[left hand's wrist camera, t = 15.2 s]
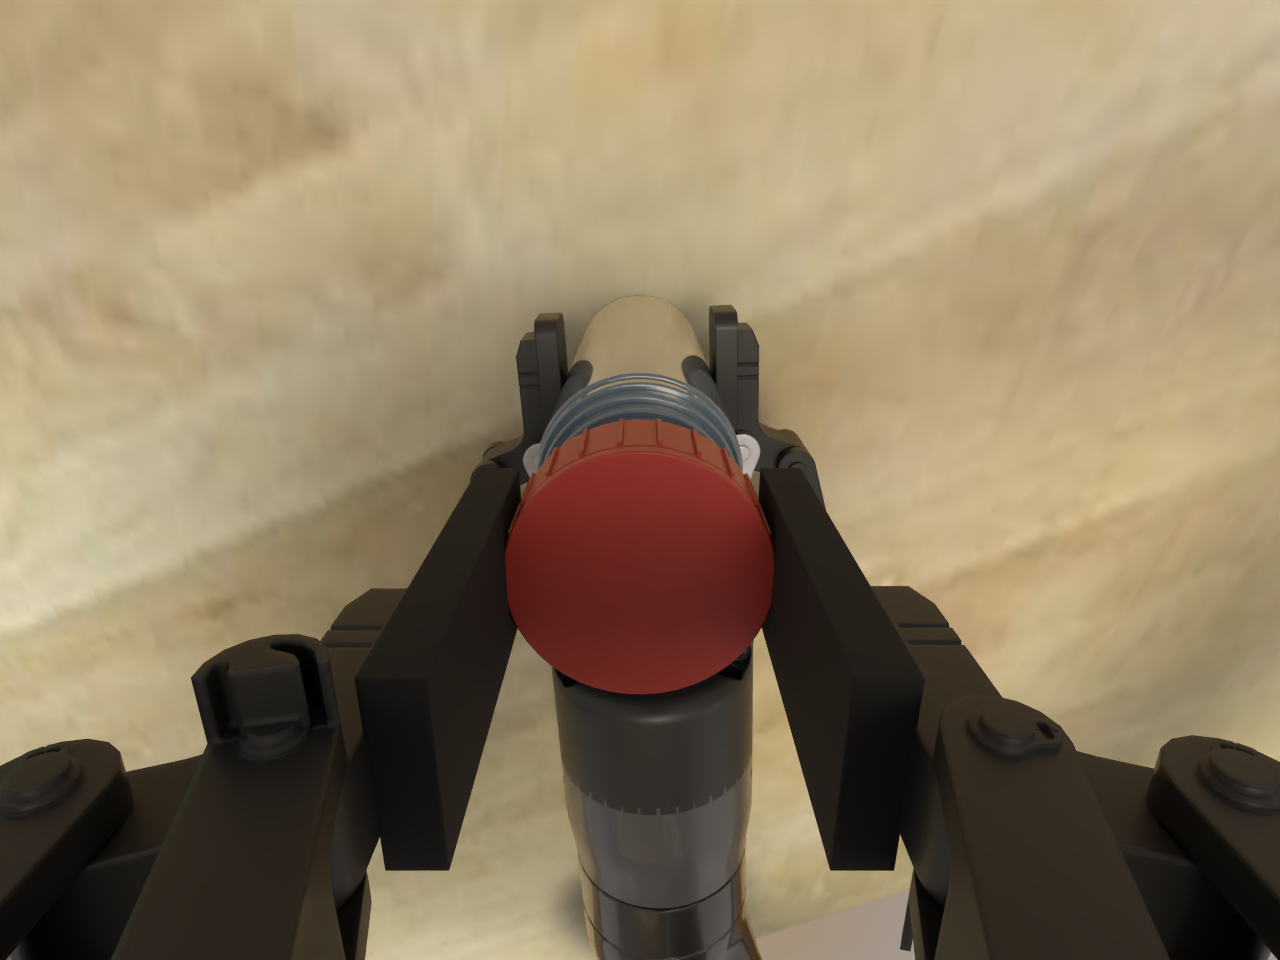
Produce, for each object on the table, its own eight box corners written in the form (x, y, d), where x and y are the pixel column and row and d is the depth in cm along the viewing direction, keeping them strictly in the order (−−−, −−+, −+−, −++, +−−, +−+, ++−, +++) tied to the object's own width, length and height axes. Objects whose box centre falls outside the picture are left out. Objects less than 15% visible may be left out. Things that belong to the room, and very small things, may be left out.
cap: (705, 373, 13) (715, 400, 11) (797, 588, 15) (818, 642, 13) (472, 476, 14) (448, 516, 12) (583, 671, 15) (576, 732, 14)
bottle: (707, 399, 31) (793, 659, 14) (595, 421, 32) (539, 702, 14) (687, 284, 30) (756, 410, 12) (569, 308, 30) (468, 466, 12)
